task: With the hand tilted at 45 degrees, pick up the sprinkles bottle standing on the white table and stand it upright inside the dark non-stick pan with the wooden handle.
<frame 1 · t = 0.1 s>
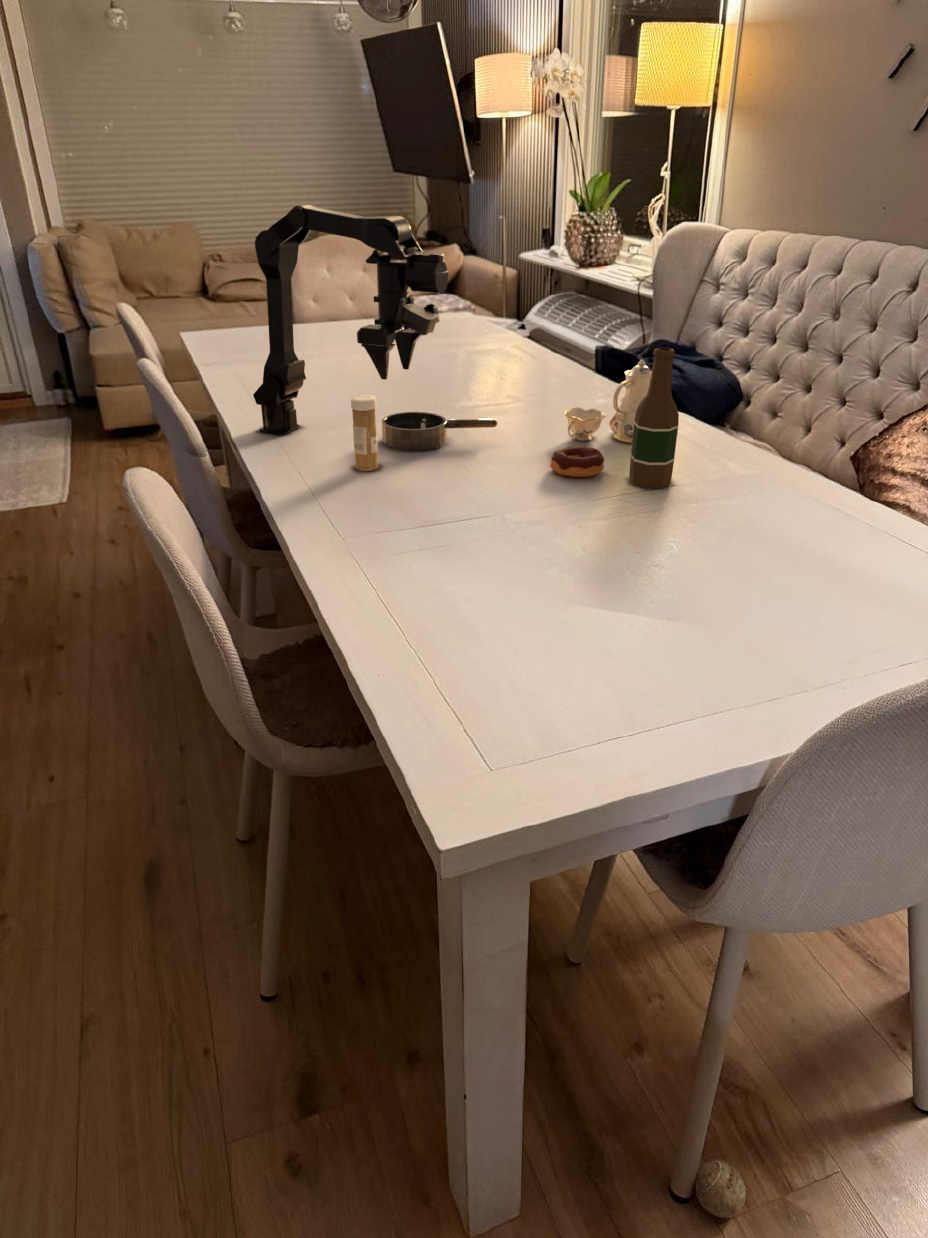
hand: (395, 374, 175), 15 cm above the table, tool pointing down, fingers open, 9 cm apart
donut: (576, 472, 170), on the table
beer bottle: (649, 482, 165), on the table
pan handle: (471, 423, 185), point 3 cm above the table
chinaware: (623, 435, 191), on the table
sprinkles bottle: (366, 468, 171), on the table
pan: (414, 441, 185), on the table
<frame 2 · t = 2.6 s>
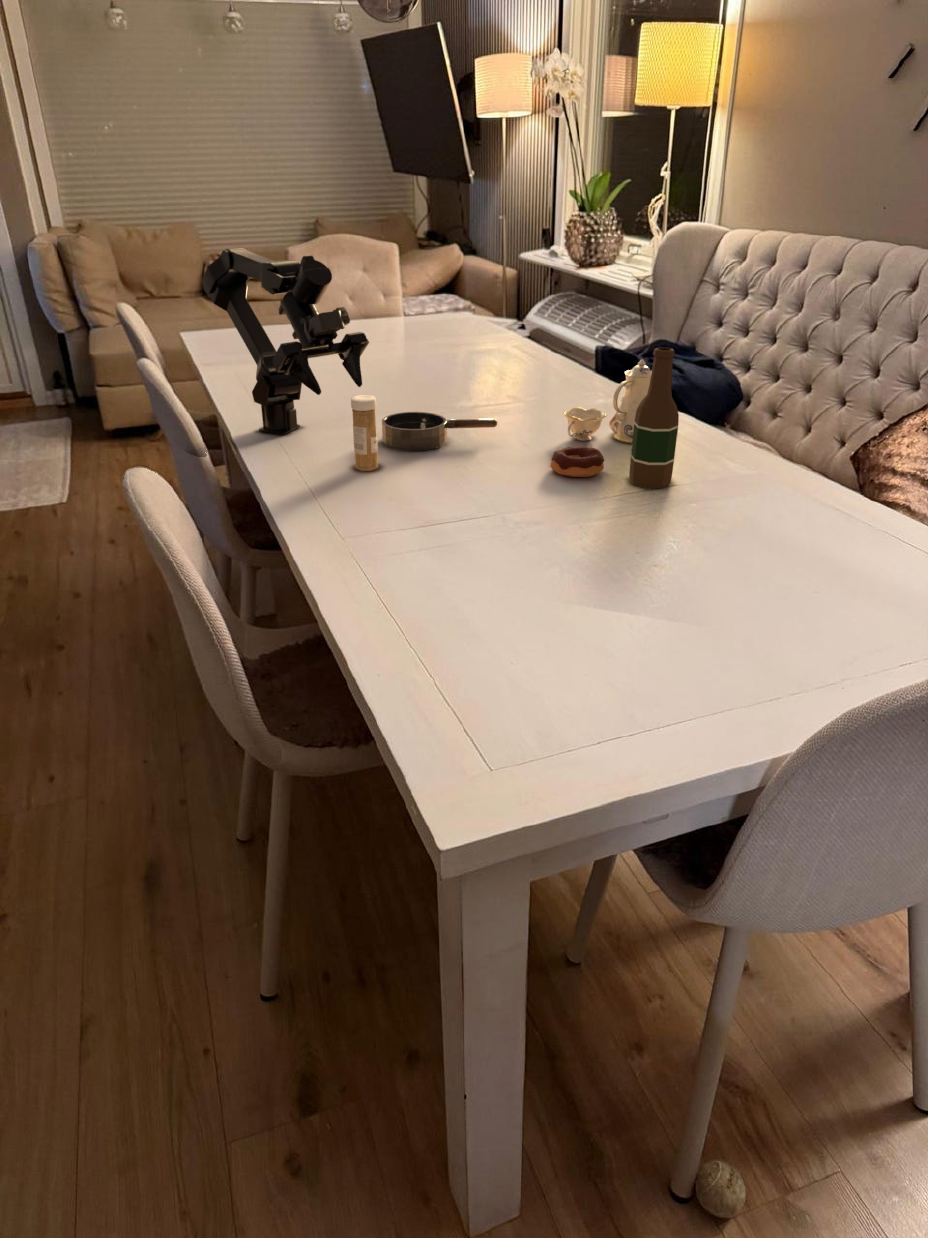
hand: (340, 389, 169), 13 cm above the table, tool tilted 45°, fingers open, 9 cm apart
nothing on the table moved.
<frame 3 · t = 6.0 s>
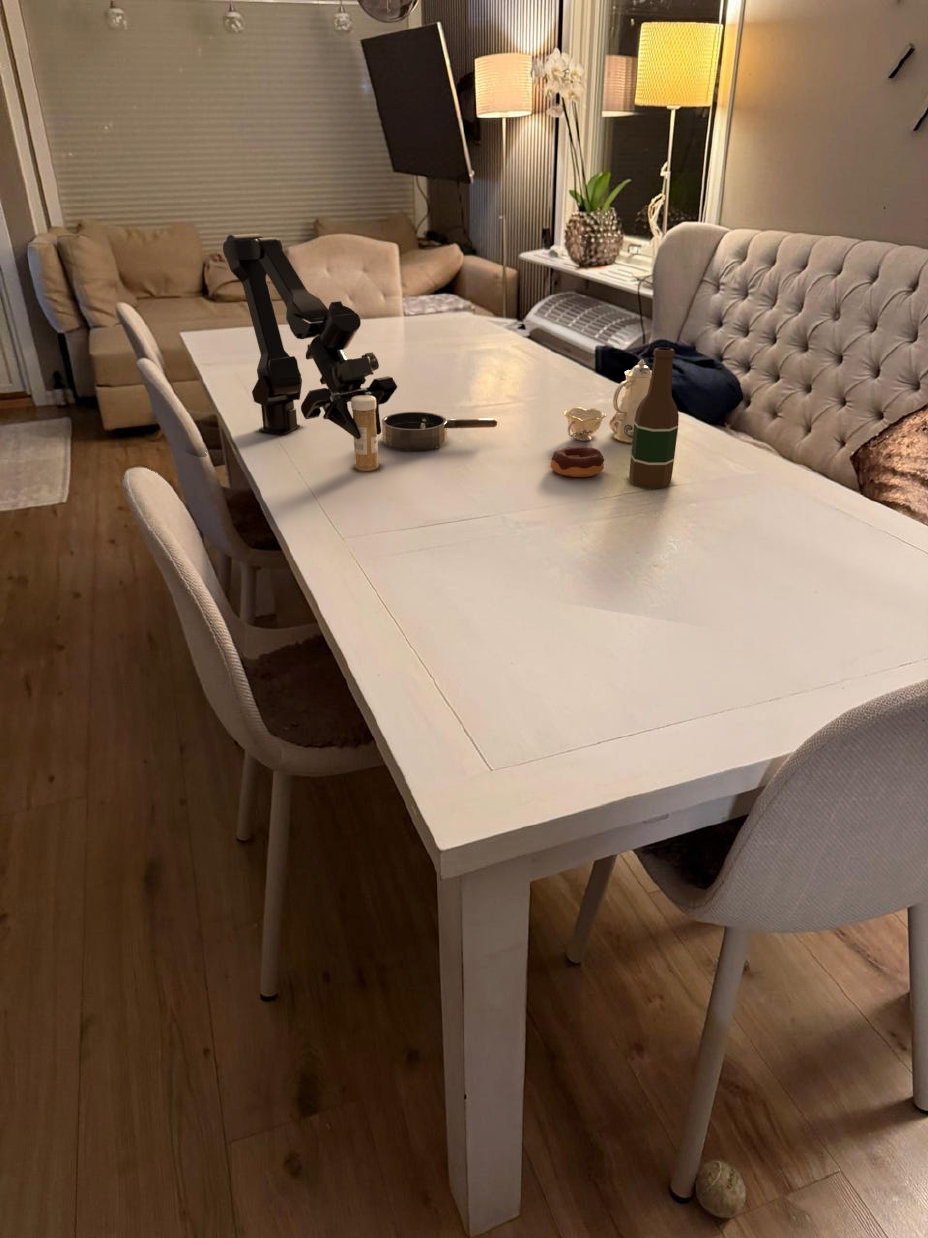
hand: (369, 435, 167), 7 cm above the table, tool tilted 45°, fingers closed on sprinkles bottle, 4 cm apart
sprinkles bottle: (366, 468, 171), on the table, touching gripper
everything else where it was.
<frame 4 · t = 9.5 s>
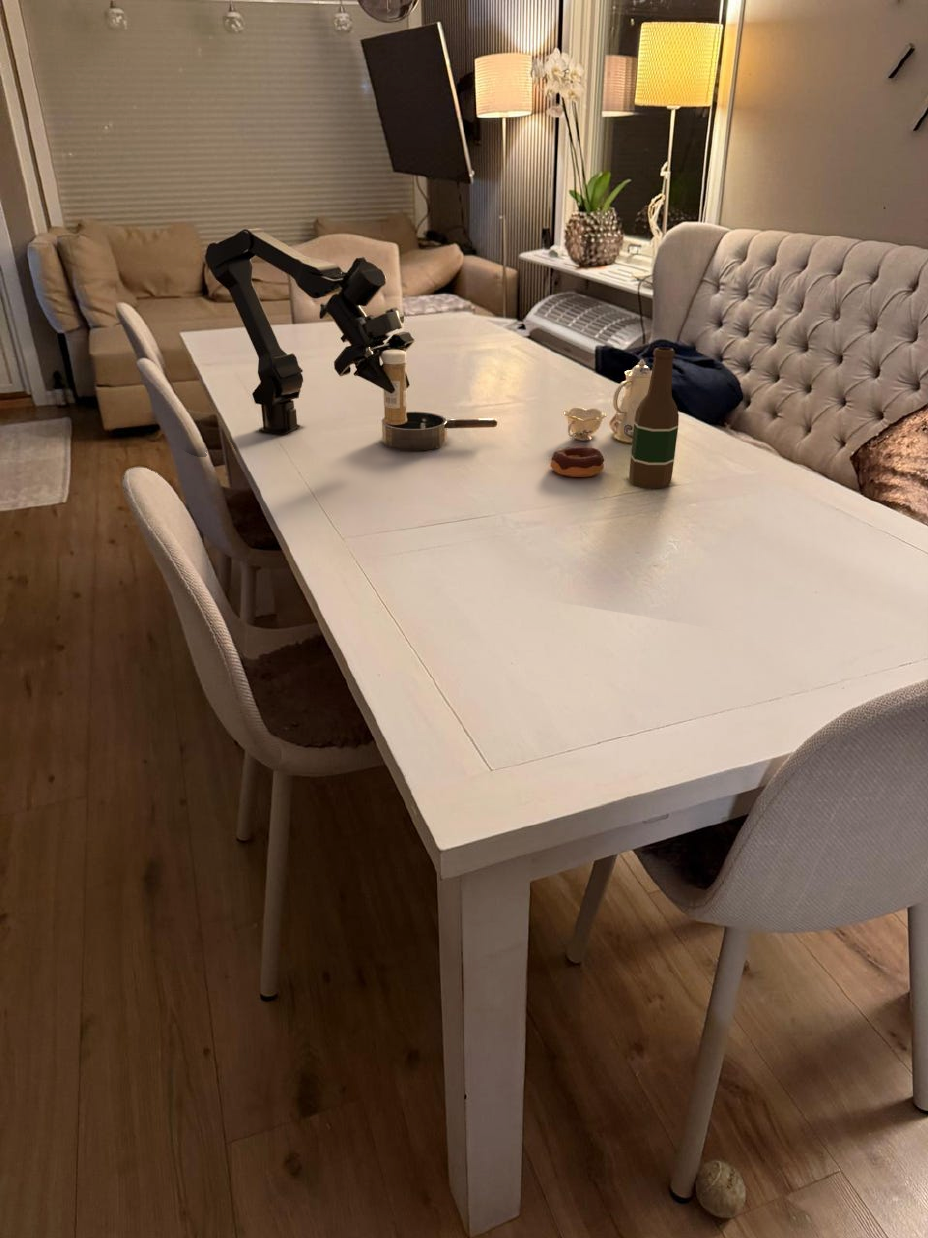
hand: (400, 389, 170), 13 cm above the table, tool tilted 45°, fingers closed on sprinkles bottle, 4 cm apart
sprinkles bottle: (395, 423, 174), point 7 cm above the table, touching gripper
everything else where it was.
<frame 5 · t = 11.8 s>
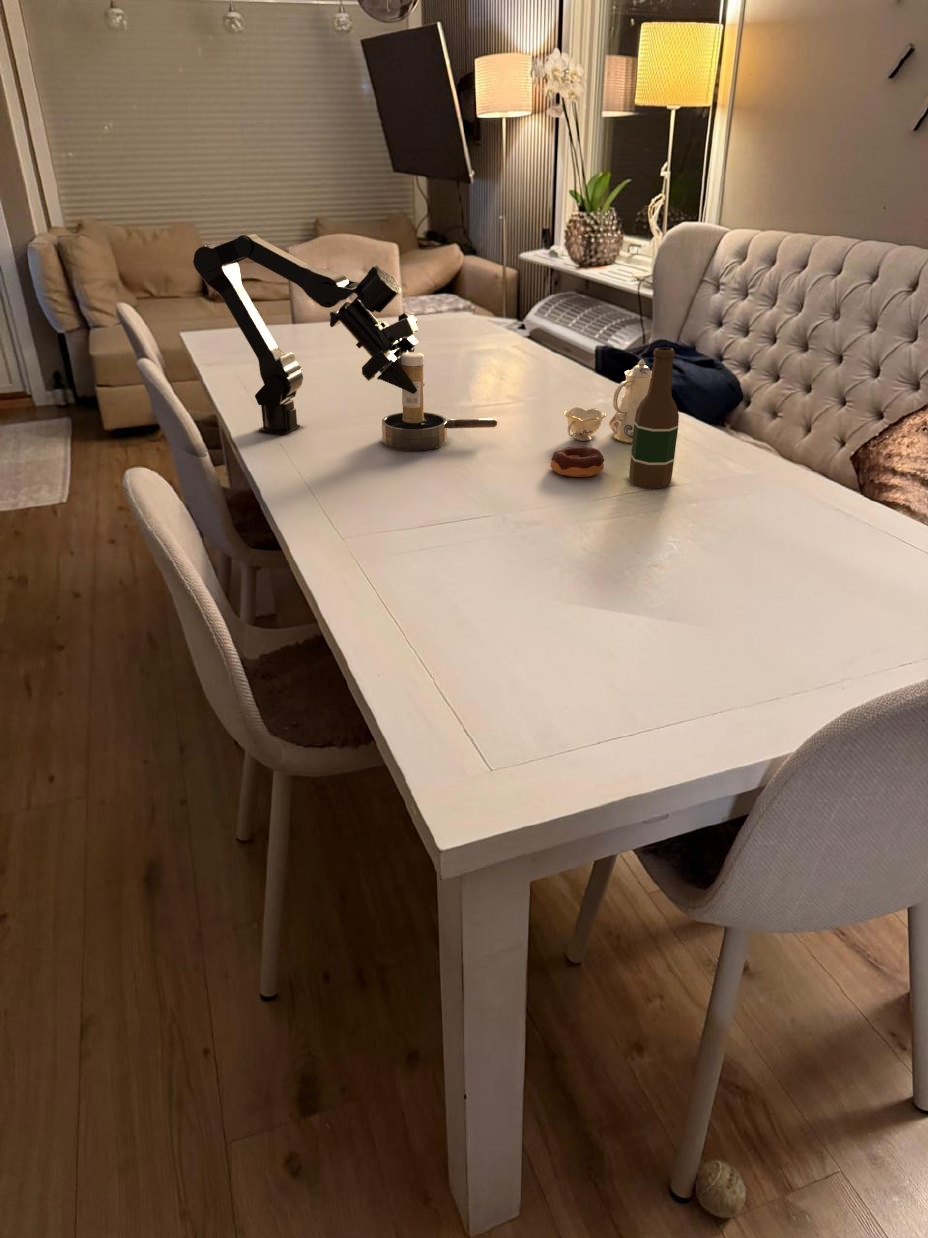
hand: (419, 389, 180), 11 cm above the table, tool tilted 45°, fingers closed on sprinkles bottle, 4 cm apart
sprinkles bottle: (413, 421, 183), point 4 cm above the table, touching gripper
everything else where it was.
when the fingers open (7 cm above the table, at t = 13.3 s): sprinkles bottle stays where it is, resting on pan.
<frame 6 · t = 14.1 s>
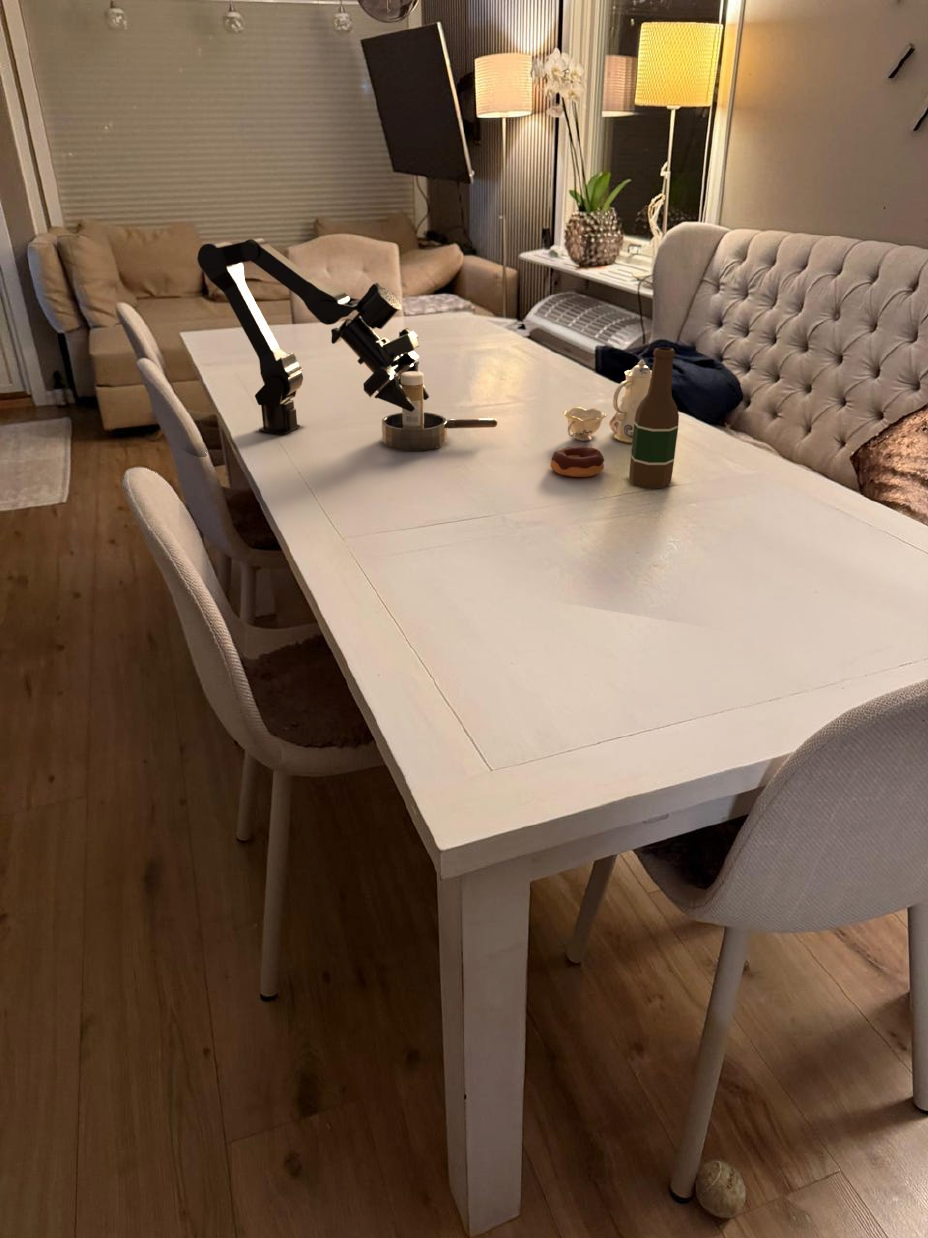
hand: (420, 404, 181), 8 cm above the table, tool tilted 45°, fingers open, 9 cm apart
sprinkles bottle: (413, 439, 185), resting on pan
everything else where it was.
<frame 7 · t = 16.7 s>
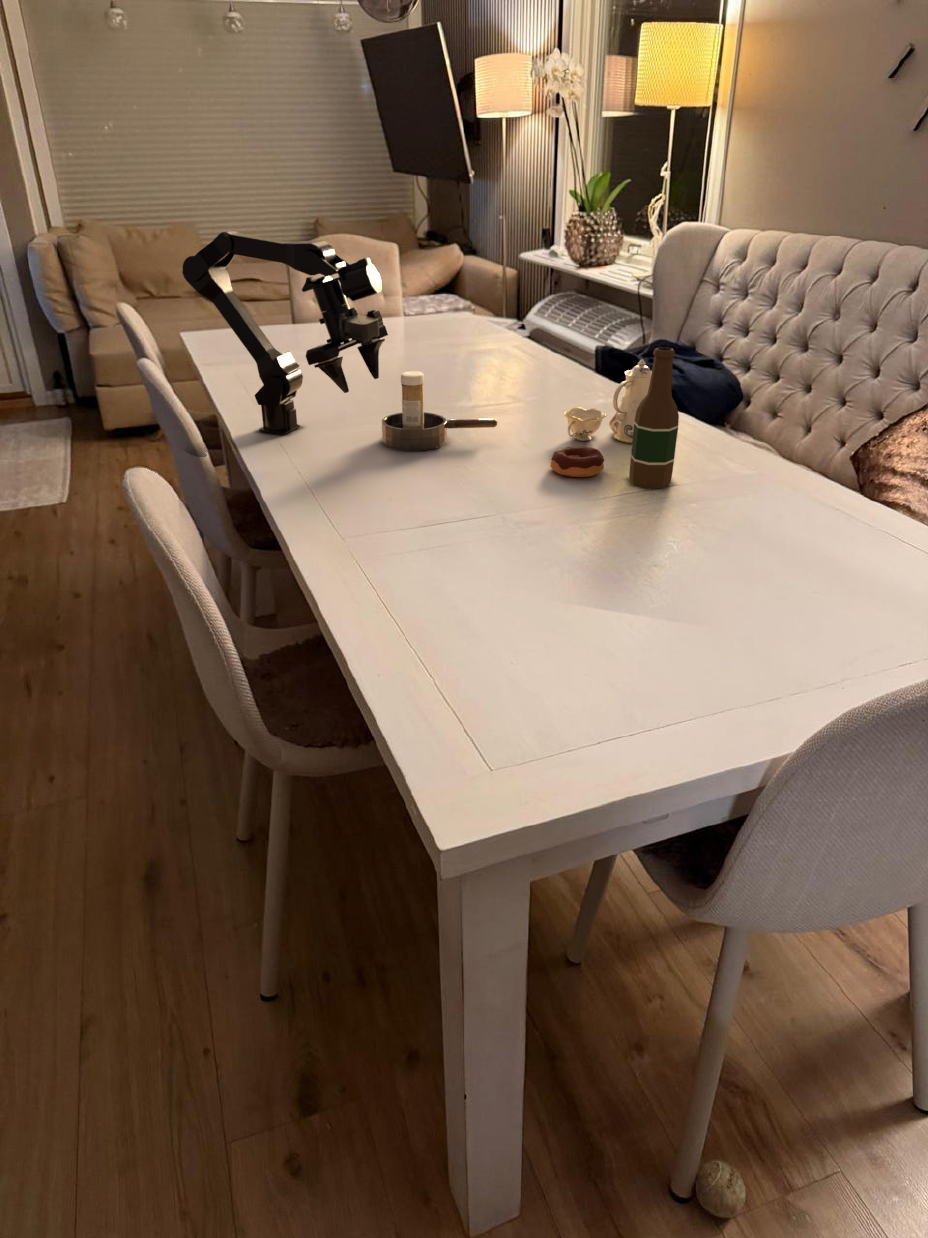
hand: (361, 385, 182), 11 cm above the table, tool tilted 20°, fingers open, 9 cm apart
nothing on the table moved.
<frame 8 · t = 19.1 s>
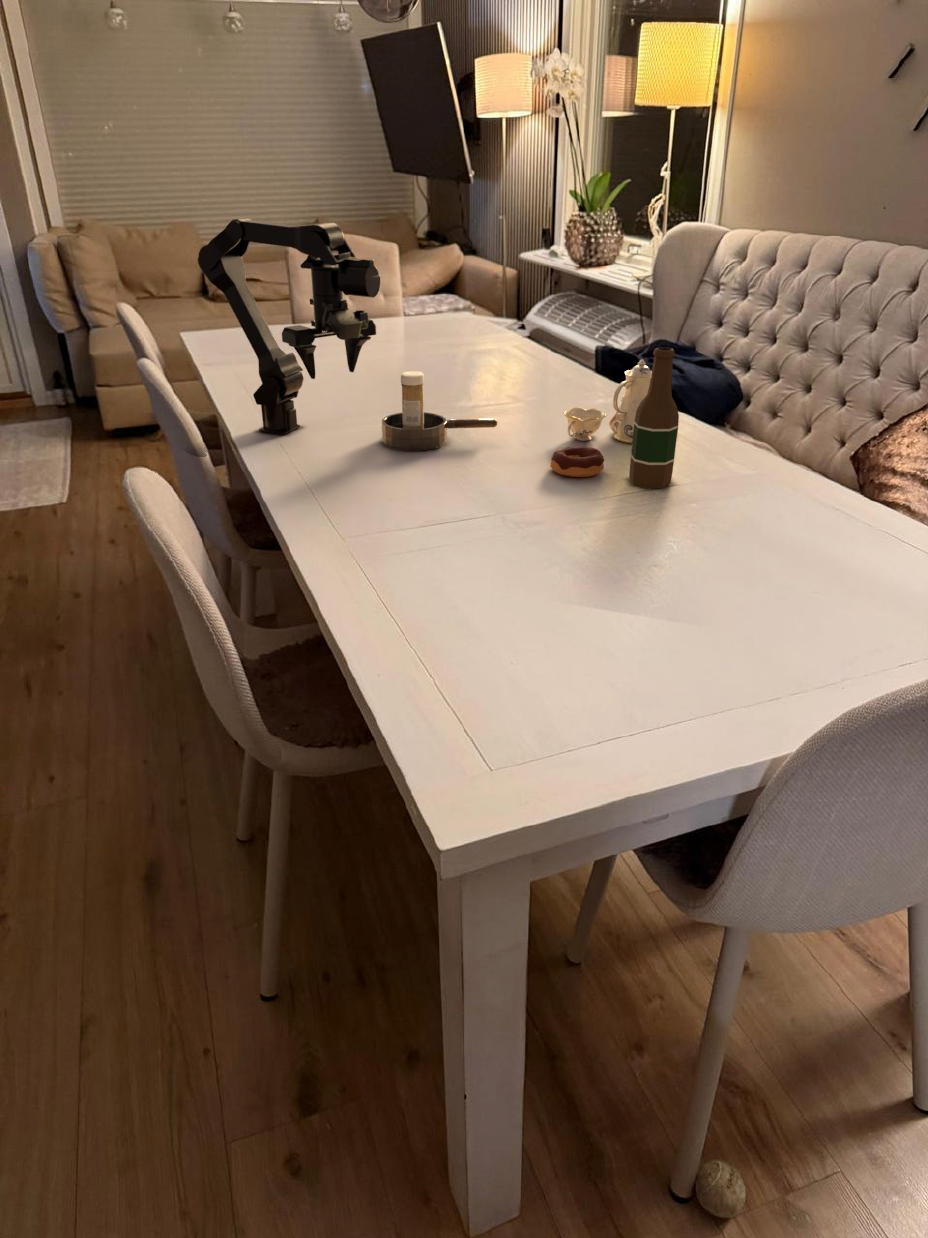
hand: (332, 375, 181), 13 cm above the table, tool pointing down, fingers open, 9 cm apart
nothing on the table moved.
at the end: sprinkles bottle inside the target area in the pan (0.2 cm from its centre), point 0.4 cm above the pan's base; sprinkles bottle tilted 0°; the gripper is holding nothing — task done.
